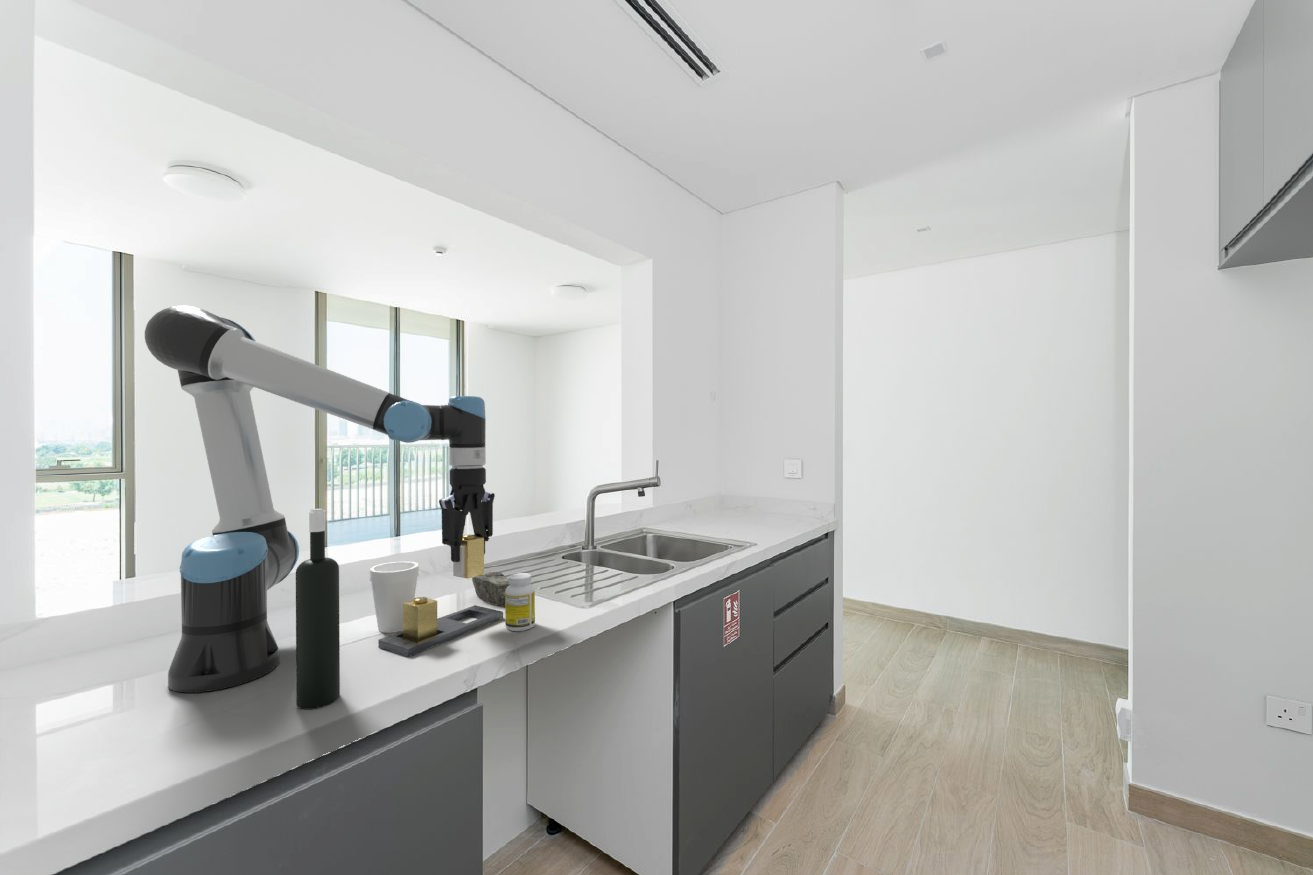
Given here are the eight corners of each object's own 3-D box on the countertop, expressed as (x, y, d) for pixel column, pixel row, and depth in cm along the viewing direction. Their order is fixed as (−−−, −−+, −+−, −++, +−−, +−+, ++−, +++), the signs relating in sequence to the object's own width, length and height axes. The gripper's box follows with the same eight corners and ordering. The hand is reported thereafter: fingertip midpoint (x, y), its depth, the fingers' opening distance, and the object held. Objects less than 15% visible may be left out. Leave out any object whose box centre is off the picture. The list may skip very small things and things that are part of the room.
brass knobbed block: (467, 578, 116) (467, 538, 116) (453, 575, 118) (453, 536, 118) (484, 573, 120) (483, 534, 120) (469, 571, 122) (469, 533, 122)
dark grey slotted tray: (408, 656, 101) (408, 648, 101) (378, 647, 106) (378, 639, 106) (503, 618, 122) (503, 611, 122) (475, 611, 127) (475, 605, 127)
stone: (522, 613, 137) (528, 583, 133) (498, 626, 132) (504, 595, 128) (490, 582, 144) (495, 552, 140) (466, 592, 139) (470, 562, 135)
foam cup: (364, 626, 117) (364, 566, 117) (408, 616, 123) (408, 559, 123) (379, 638, 110) (379, 574, 110) (425, 627, 117) (425, 566, 117)
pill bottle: (520, 619, 122) (520, 570, 121) (540, 624, 118) (540, 574, 118) (498, 628, 116) (498, 576, 116) (520, 634, 113) (520, 581, 113)
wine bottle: (309, 691, 88) (308, 506, 87) (346, 690, 88) (345, 506, 88) (288, 710, 82) (286, 512, 82) (327, 708, 83) (326, 511, 82)
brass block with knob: (417, 647, 106) (417, 603, 106) (403, 643, 108) (403, 600, 108) (437, 639, 110) (437, 597, 110) (422, 635, 112) (422, 594, 112)
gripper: (446, 470, 109) (447, 585, 110) (509, 465, 125) (510, 566, 125) (421, 469, 113) (422, 580, 113) (486, 464, 128) (487, 562, 129)
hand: (468, 573), depth 119 cm, fingers closed on brass knobbed block, 4 cm apart
